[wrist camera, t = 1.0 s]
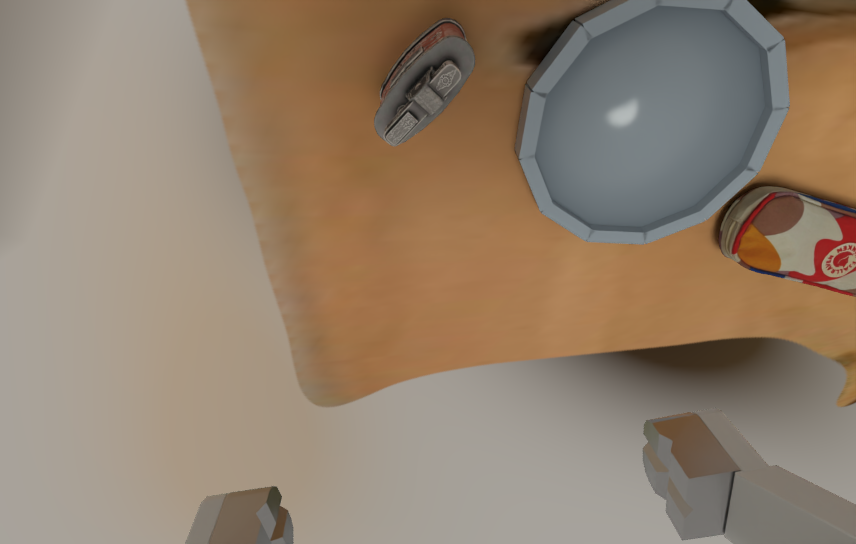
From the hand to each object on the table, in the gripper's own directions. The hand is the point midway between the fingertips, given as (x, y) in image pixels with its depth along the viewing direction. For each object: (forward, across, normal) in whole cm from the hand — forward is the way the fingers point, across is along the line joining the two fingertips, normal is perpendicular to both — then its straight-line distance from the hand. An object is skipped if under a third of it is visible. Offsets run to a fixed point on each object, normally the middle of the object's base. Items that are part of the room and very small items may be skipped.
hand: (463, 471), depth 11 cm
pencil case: (+34, -36, +15) cm, 52 cm away
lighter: (+33, -2, -5) cm, 34 cm away
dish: (+33, -19, +2) cm, 38 cm away
